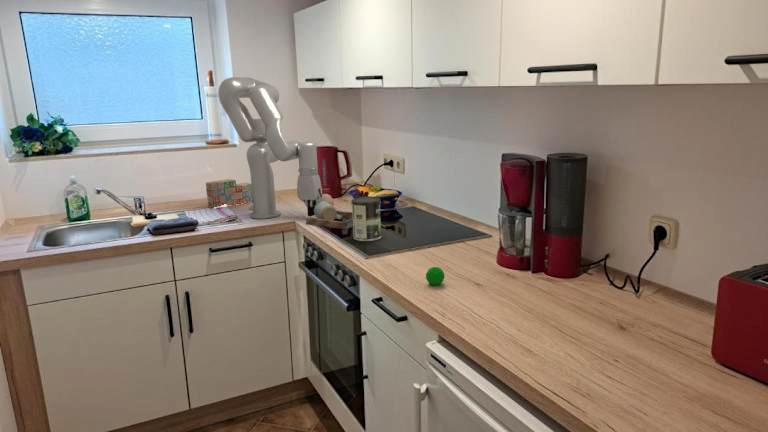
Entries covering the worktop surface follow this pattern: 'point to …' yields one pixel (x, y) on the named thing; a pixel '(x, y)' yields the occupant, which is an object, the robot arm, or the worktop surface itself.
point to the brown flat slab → (333, 224)
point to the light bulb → (326, 211)
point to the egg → (327, 199)
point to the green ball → (435, 276)
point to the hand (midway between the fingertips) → (311, 215)
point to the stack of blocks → (228, 193)
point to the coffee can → (366, 218)
